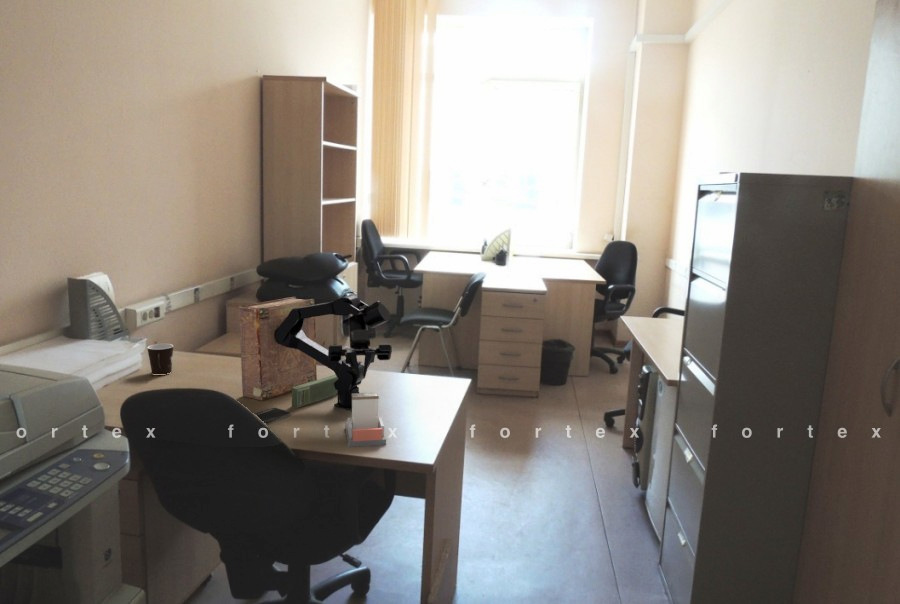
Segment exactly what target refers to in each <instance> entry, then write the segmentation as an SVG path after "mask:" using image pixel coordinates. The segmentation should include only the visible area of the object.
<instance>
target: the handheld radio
mask: <svg viewBox="0 0 900 604" xmlns="http://www.w3.org/2000/svg"><path fill="white" fill-rule="evenodd" d="M336 380H338V378H337V376H336V374H335V373H334V374H332V375H329V376H326V377H323V378H319V379H317V380H315V381H312V382H309V383H306V384H302V385H299V386H296V387H292V391H291V408H293V407H294V409H299V408H302V407H305V406H307V405H309V403H310V404H313V403H316V402H319V401H321V399H322V400H324V398H325V399H328V398H331V397H334V396H338V390H336V389H335V387H334V382H335V381H336ZM330 396H331V397H330ZM327 397H328V398H327ZM318 400H319V401H318ZM315 401H316V402H315ZM312 402H313V403H312Z"/></svg>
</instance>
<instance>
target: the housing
mask: <svg viewBox="0 0 900 604" xmlns="http://www.w3.org/2000/svg"><path fill="white" fill-rule="evenodd" d="M344 427H345V433H346V438H347V444H348V447H349V448H353V447H366V446H367V447H370V446H372V447H373V446H385V445H387V438H386V436H385V425H384V422H383V418H382V416H379V415H378V428H369V429H353V430H352V418H351V417H347V421H346V423H345V425H344Z"/></svg>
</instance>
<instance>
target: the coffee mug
mask: <svg viewBox="0 0 900 604" xmlns="http://www.w3.org/2000/svg"><path fill="white" fill-rule="evenodd" d="M146 349H147V354H148V359H149V365H150V370H151V374H152V373H153V374H167V373H170V372H171V373H172V368H173V358H174V356H173V355H174V344H171V343H155V344H151V345H148V346H147V347H146Z"/></svg>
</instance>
